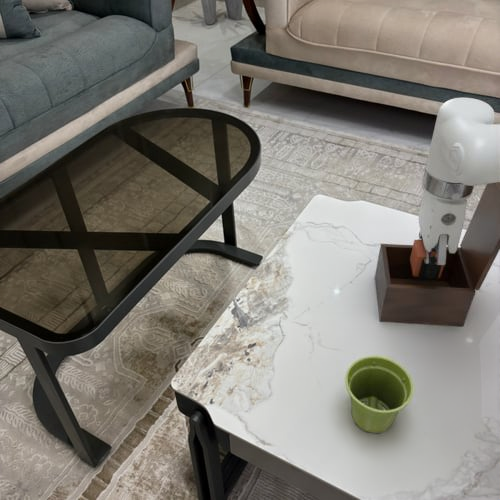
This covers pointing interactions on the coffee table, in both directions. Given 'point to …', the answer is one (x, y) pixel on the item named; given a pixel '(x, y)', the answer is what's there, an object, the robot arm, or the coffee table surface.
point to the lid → (483, 235)
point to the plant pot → (377, 391)
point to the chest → (422, 289)
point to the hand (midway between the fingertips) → (425, 266)
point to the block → (419, 257)
